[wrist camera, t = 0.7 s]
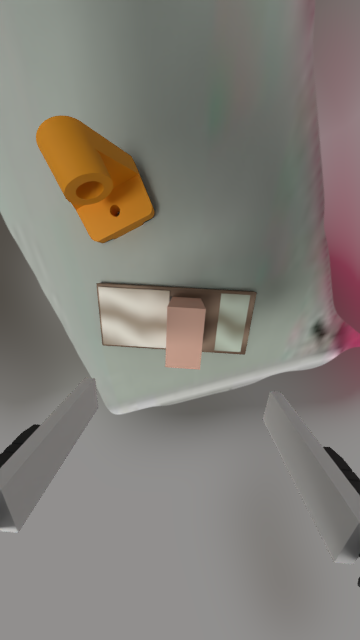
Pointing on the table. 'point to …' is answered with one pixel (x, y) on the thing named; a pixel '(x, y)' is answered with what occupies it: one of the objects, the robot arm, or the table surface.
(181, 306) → the stub
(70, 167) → the bracket
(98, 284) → the board
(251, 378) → the table surface
